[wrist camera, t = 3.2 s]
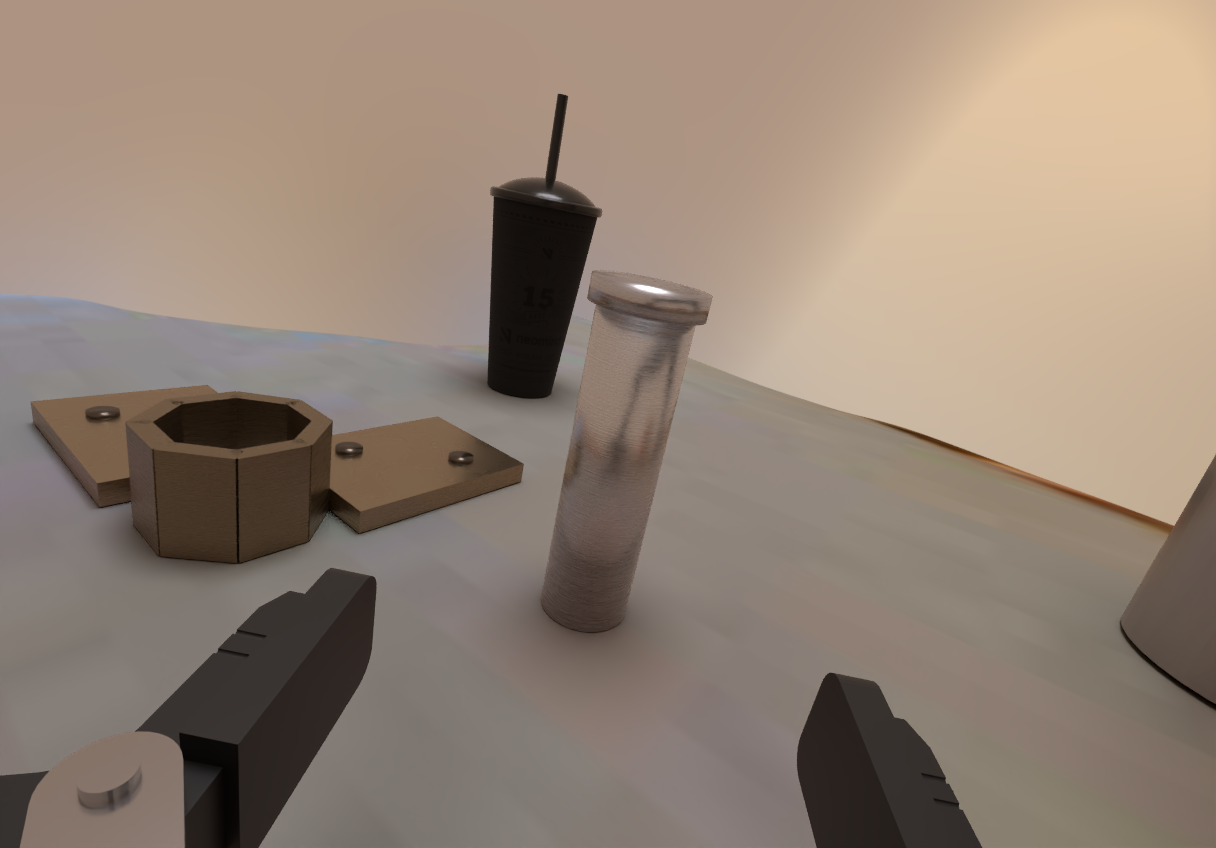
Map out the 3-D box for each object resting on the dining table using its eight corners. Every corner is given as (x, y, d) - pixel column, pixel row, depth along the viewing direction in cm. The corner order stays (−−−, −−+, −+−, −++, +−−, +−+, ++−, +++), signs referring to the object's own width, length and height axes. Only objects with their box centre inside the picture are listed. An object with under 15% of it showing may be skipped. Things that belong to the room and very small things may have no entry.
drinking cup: (456, 369, 47) (488, 82, 40) (547, 373, 51) (590, 112, 44) (484, 404, 41) (527, 73, 34) (585, 406, 45) (642, 108, 38)
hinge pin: (578, 562, 25) (637, 272, 21) (652, 609, 23) (733, 298, 19) (511, 596, 22) (566, 267, 18) (589, 654, 20) (670, 298, 16)
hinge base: (354, 385, 39) (357, 325, 38) (520, 481, 31) (532, 409, 30) (33, 422, 27) (21, 336, 26) (167, 595, 19) (160, 481, 18)
